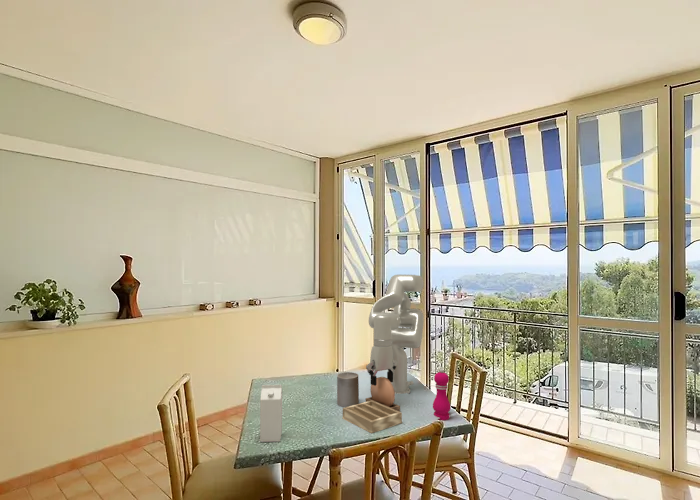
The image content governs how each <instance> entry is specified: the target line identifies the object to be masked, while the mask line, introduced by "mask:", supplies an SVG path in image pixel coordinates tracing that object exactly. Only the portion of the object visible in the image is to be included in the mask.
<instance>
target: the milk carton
mask: <svg viewBox="0 0 700 500" xmlns="http://www.w3.org/2000/svg"><path fill="white" fill-rule="evenodd" d="M259 404H260V405H259V406H260V407H259V409H260V416H259V442H260V443H265V442H266V443H268V442H271V443H272V442H281V438H282V433H283V386H282V384H262V385H261V391H260V403H259Z"/></svg>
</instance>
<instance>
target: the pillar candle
mask: <svg viewBox="0 0 700 500" xmlns="http://www.w3.org/2000/svg"><path fill="white" fill-rule="evenodd" d="M359 383H360V381H359V374H358V373H356V372H350V371H349V372H348V371H347V372H346V371H345V372H340V373H338V374H336V390H337V391H336V392H337V393H336V394H337V395H336V400H337V401H336V402H337V403H336V405H337V406H338V407H341V408H345V407H349V406H352V405H356V404H360V399H359V398H360V397H359V392H360V391H359V389H360V388H359V387H360V386H359Z"/></svg>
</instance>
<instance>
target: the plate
mask: <svg viewBox="0 0 700 500" xmlns="http://www.w3.org/2000/svg"><path fill="white" fill-rule="evenodd" d="M370 397H372V399H373V400H374V401H376V402H379V403H381V404H383V405H386V406H388V407H391V406H392V405H393V403H394V404H395V399H396V394H395V392H394V388H393V385H392V384H391V382H390V381H389V380H388V379H387V376H386V377H385V376H377V385H376V386H374V385H371V384H370Z"/></svg>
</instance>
